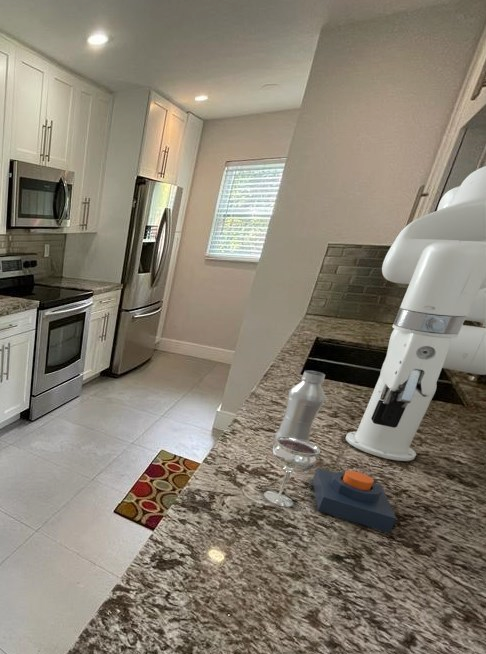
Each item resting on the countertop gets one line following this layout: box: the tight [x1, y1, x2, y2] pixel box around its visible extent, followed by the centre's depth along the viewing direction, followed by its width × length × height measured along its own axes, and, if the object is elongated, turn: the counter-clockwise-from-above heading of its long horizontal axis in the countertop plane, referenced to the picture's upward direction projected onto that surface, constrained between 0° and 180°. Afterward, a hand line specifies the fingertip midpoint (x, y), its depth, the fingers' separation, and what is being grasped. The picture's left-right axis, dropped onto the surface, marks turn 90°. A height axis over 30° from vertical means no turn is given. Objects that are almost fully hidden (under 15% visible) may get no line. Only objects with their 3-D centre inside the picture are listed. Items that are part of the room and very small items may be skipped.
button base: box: [312, 467, 397, 534], centre depth 78 cm, size 12×10×5 cm
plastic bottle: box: [272, 369, 326, 446], centre depth 93 cm, size 6×7×20 cm
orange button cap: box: [343, 470, 375, 490], centre depth 77 cm, size 4×4×2 cm
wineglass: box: [263, 436, 321, 507], centre depth 77 cm, size 7×7×12 cm
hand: (383, 423), depth 73 cm, fingers closed
